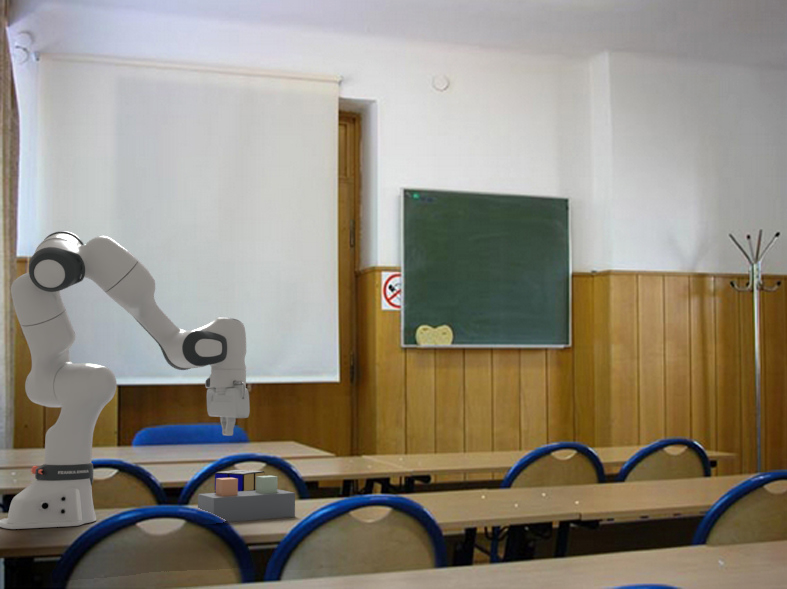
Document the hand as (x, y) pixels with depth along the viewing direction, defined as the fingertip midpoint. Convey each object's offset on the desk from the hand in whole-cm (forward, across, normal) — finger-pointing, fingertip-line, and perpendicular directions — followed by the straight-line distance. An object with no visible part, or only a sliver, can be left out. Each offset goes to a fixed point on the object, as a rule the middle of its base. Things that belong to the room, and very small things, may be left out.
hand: (227, 435), depth 237 cm
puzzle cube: (+21, +19, -11) cm, 31 cm away
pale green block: (+17, 0, -11) cm, 20 cm away
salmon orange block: (+17, 0, 0) cm, 17 cm away
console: (+21, 0, -5) cm, 21 cm away
